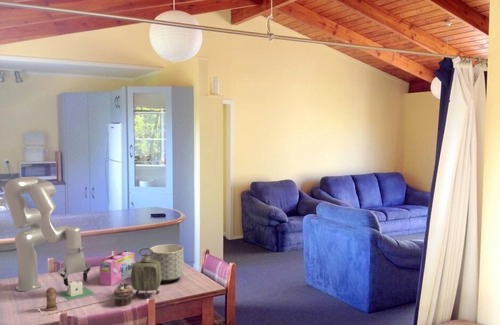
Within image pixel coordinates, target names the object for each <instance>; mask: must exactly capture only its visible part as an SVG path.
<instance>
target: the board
mask: <svg viewBox="0 0 500 325" xmlns="http://www.w3.org/2000/svg"><path fill="white" fill-rule="evenodd" d="M100 294H102V292H100V293H95V294H92V295H88V296H83V297H79V298H75V299H70V300H64V301H61V302H56V305H57V304H61V303H66V302H70V301H75V300H78V299H83V298H88V297H91V296H96V295H100ZM109 301H113V299H111V298H109V299H106V300H102V301H101V300H100V301H98V302H97V301H96V302H94V303H93V302H92V303H89V304H85V305H81V306H77V307H73V308H69V309H64V310H59V311H56V312H52V314H51V313H48V315H47V316H51V315H55V314H59V312H60V313H63V311H64V312H66V311H72V310H76V309H79V308H83V307H87V306H91V305H95V304H101V303H106V302H109ZM46 306H47V304H46V305H42V306H39V307H35V309H36V310H37V309H38V308H40V309H41V308H46ZM54 313H55V314H54Z"/></svg>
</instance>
